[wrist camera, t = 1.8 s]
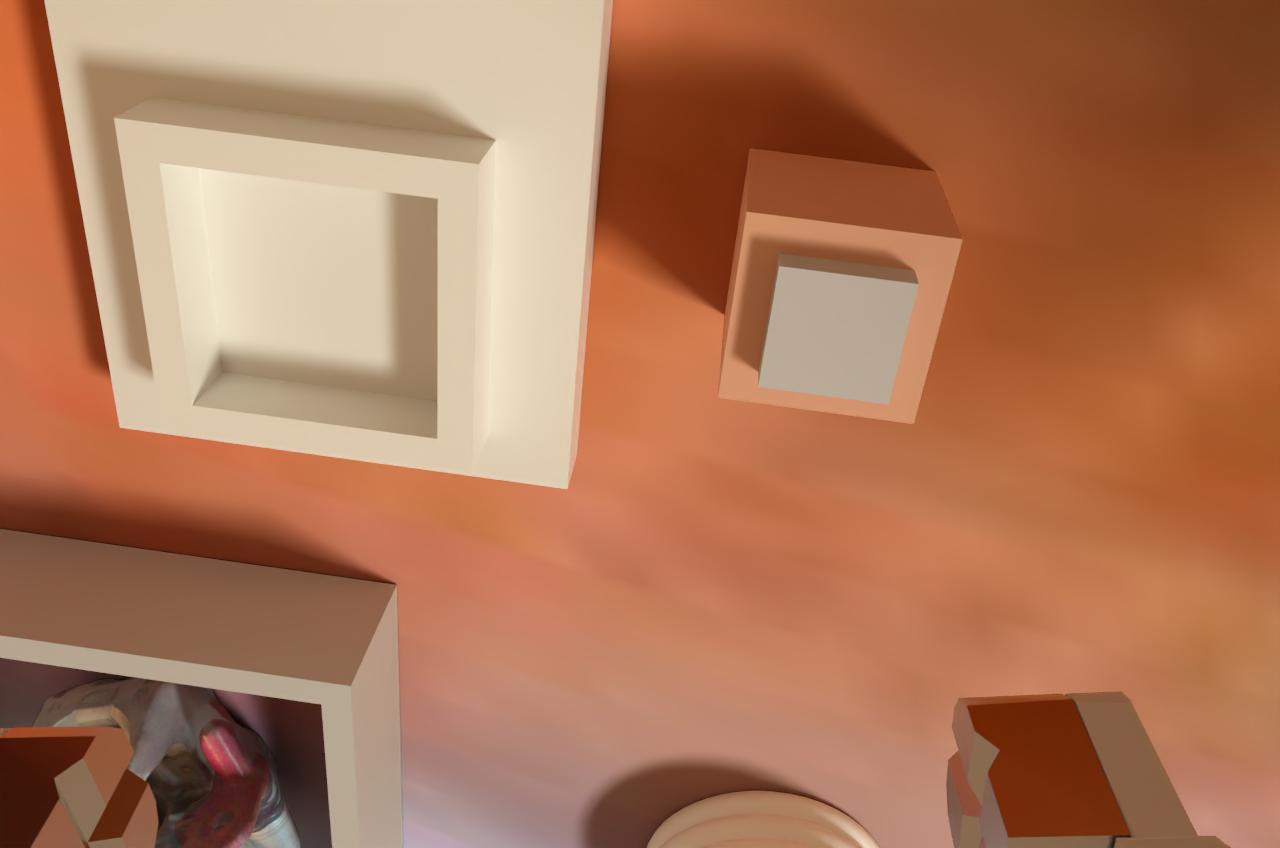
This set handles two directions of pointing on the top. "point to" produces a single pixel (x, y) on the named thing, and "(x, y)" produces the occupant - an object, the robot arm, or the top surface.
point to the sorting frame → (226, 647)
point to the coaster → (760, 824)
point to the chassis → (343, 220)
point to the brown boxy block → (836, 285)
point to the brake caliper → (187, 761)
